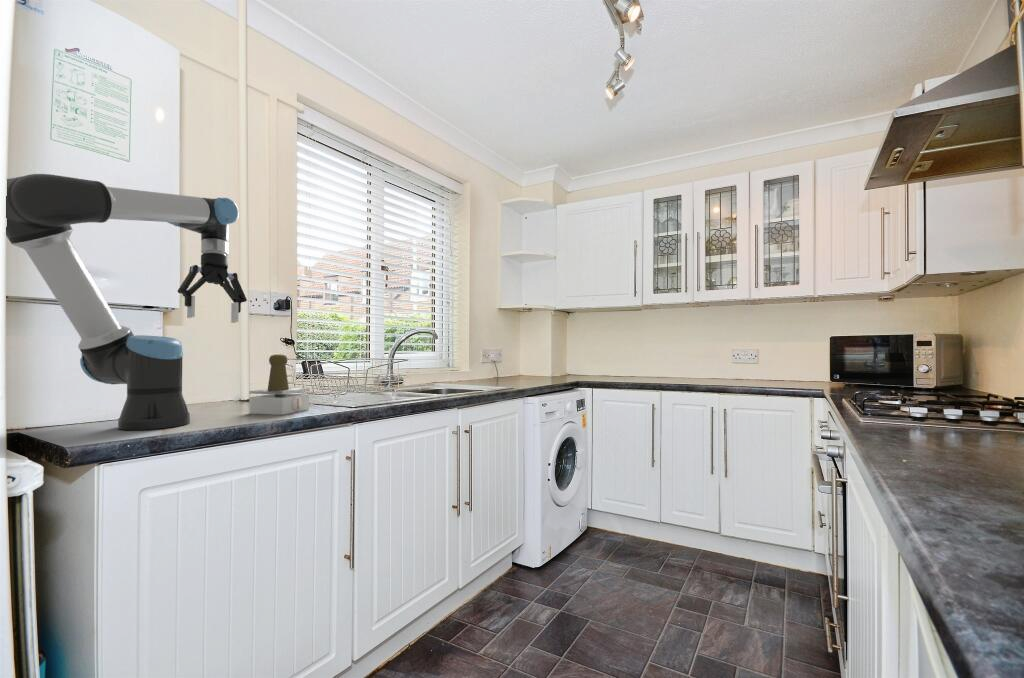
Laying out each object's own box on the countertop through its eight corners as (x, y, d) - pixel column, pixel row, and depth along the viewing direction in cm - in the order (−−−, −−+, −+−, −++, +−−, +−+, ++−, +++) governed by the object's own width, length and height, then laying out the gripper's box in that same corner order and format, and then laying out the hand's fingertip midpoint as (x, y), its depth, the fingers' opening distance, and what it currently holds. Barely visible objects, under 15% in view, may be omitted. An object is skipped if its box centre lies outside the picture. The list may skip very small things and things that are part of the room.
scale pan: (282, 394, 145) (282, 391, 145) (249, 393, 148) (249, 391, 148) (309, 390, 157) (309, 388, 157) (277, 389, 160) (277, 387, 160)
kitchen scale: (284, 414, 145) (284, 394, 145) (249, 413, 148) (249, 393, 148) (311, 409, 157) (311, 390, 157) (277, 408, 160) (277, 390, 160)
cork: (292, 388, 155) (292, 354, 155) (282, 390, 149) (282, 354, 149) (274, 388, 155) (274, 354, 155) (263, 390, 149) (263, 354, 149)
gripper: (245, 265, 170) (244, 325, 167) (165, 248, 148) (163, 316, 145) (258, 261, 166) (258, 322, 163) (179, 242, 145) (177, 313, 142)
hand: (213, 320), depth 154 cm, fingers open, 13 cm apart
